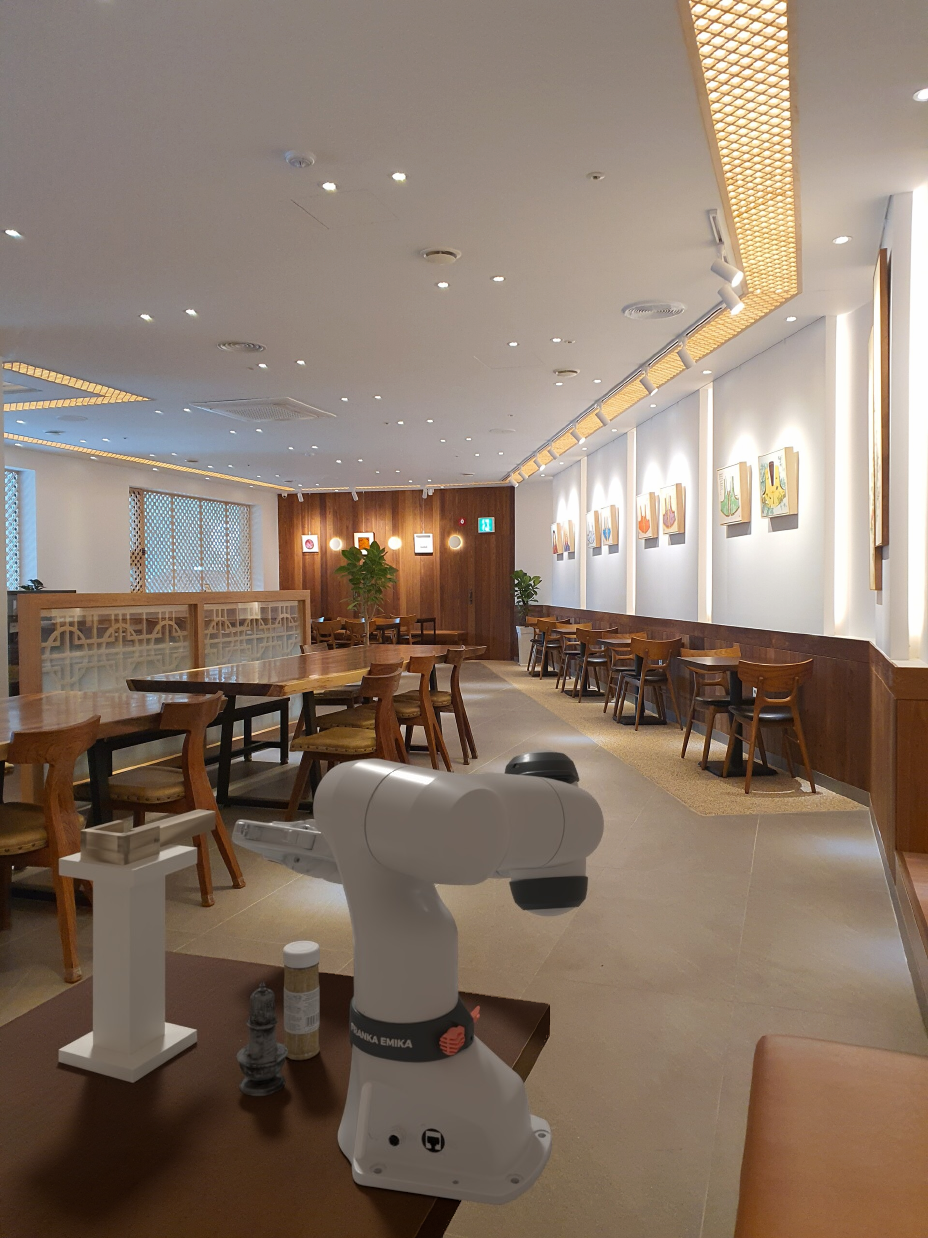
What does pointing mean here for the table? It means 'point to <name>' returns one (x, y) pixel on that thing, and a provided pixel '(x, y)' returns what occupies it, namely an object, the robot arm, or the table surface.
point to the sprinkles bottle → (301, 999)
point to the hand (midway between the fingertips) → (261, 831)
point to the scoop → (141, 837)
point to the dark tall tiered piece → (262, 1048)
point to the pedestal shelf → (128, 966)
